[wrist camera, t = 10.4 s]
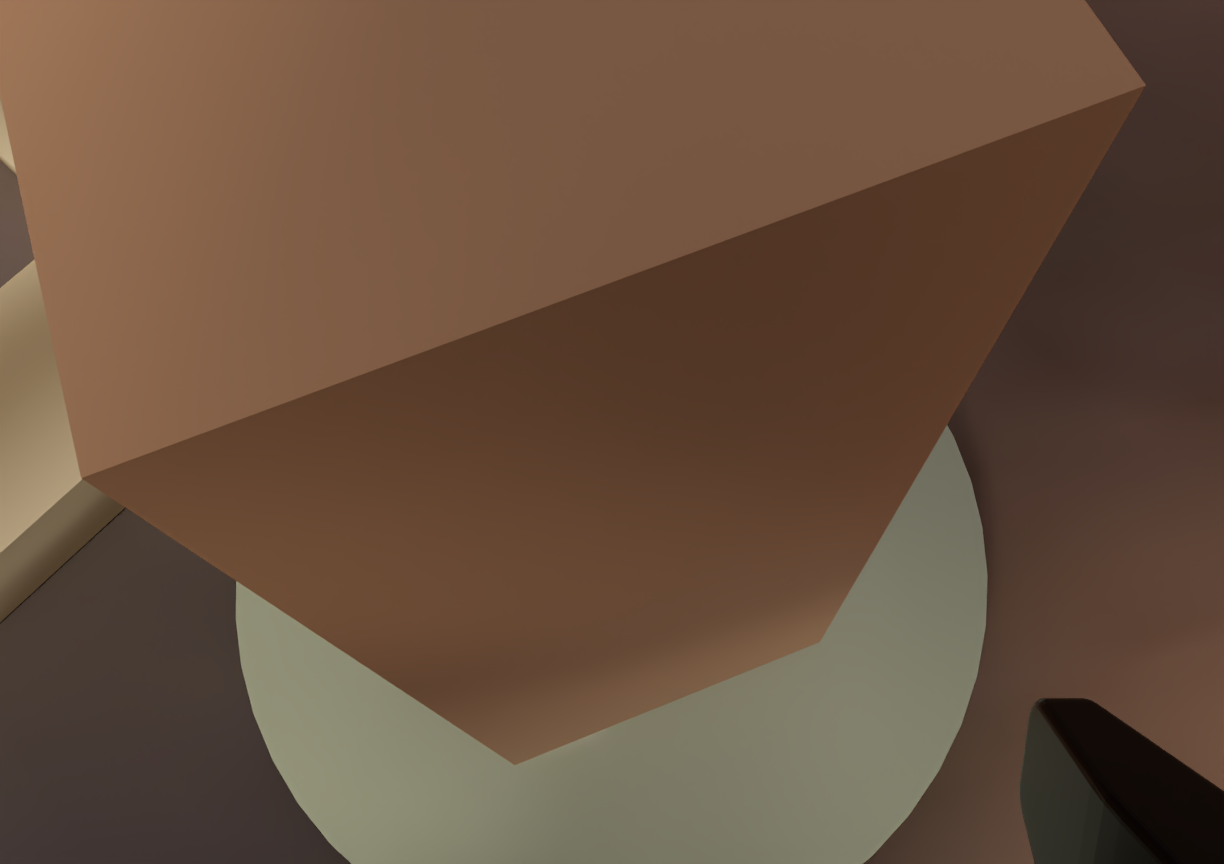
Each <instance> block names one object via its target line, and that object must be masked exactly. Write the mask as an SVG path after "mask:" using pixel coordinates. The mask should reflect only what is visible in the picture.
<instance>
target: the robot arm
mask: <svg viewBox="0 0 1224 864" xmlns="http://www.w3.org/2000/svg"><path fill="white" fill-rule="evenodd" d="M1020 800H1021V808H1022V814H1023V818H1024V822H1025V826H1026V830H1027V834H1028V838H1029V842H1030V846H1031V850H1032V854H1033V858H1034V862H1035V864H1224V791H1223V790H1221V789H1220V788H1219V787H1217V786H1216V785H1214V784H1213V783H1211V782H1210V781H1208V780H1207V779H1205V778H1204V777H1203V776H1201V775H1200V774H1198V773H1197V772H1195V771H1194V770H1192V769H1191V768H1190V767H1188V766H1187V765H1185V764H1184V763H1182V762H1181V761H1179V760H1178V759H1177V758H1175V757H1174V756H1172V755H1171V754H1169V753H1168V752H1166V751H1165V750H1163V749H1162V748H1161V747H1159V746H1158V745H1156V744H1155V743H1153V742H1152V741H1150V740H1149V739H1148V738H1146V737H1145V736H1143V735H1142V734H1140V733H1139V732H1137V731H1136V730H1135V729H1133V728H1132V727H1130V726H1129V725H1127V724H1126V723H1124V722H1123V721H1121V720H1120V719H1119V718H1117V717H1116V716H1114V715H1113V714H1111V713H1110V712H1108V711H1107V710H1106V709H1104V708H1103V707H1101V706H1100V705H1098V704H1097V703H1095V702H1093V701H1091V700H1089V699H1084V698H1043V699H1039V700H1038V701H1037V702H1035V703H1034V705H1033V707H1032V709H1031V711H1030V715H1029V722H1028V729H1027V736H1026V744H1025V751H1024V758H1023V766H1022V773H1021V781H1020Z"/></svg>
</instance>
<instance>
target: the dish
mask: <svg viewBox="0 0 1224 864" xmlns="http://www.w3.org/2000/svg"><path fill="white" fill-rule="evenodd" d="M987 577H988V575H987V566H986V556H985V547H984V537H983V528H982V524H981V519H980V515H979V511H978V507H977V503H976V499H975V495H974V491H973V487H972V483H971V479H970V477H969V474H968V472H967V469H966V467H965V464H964V462H963V459H962V456H961V454H960V451H959V449H958V446H957V444H956V441H955V439H954V436H953V435H952V433H951V431H950V429H949V427H948V426H946V428H945V429H944V431H943V433H942V434H941V436H940V438H939V440H938V441H937V443H936V445H935V446H934V448H933V450H932V452H931V453H930V455H929V457H928V458H927V460H926V462H925V464H924V465H923V467H922V469H921V470H920V472H919V474H918V475H917V477H916V479H915V481H914V482H913V484H912V486H911V487H910V489H909V491H908V493H907V494H906V496H905V498H904V499H903V501H902V503H901V505H900V506H899V508H898V510H897V511H896V513H895V515H894V516H893V518H892V520H891V522H890V523H889V525H888V527H887V528H886V530H885V532H884V534H883V535H882V537H881V539H880V540H879V542H878V544H877V545H876V547H875V549H874V551H873V552H872V554H871V556H870V557H869V559H868V561H867V563H866V564H865V566H864V568H863V569H862V571H861V573H860V575H859V576H858V578H857V580H856V581H855V583H854V585H853V586H852V588H851V590H850V592H849V593H848V595H847V597H846V598H845V600H844V602H843V604H842V605H841V607H840V609H839V610H838V612H837V614H836V615H835V617H834V619H833V621H832V622H831V624H830V626H829V627H828V629H827V631H826V633H825V634H824V636H823V638H822V639H821V641H820V642H819V643H816V644H814V645H811V646H809V647H806V648H804V649H801V650H799V651H796V652H794V653H791V654H789V655H786V656H784V657H781V658H779V659H777V660H774V661H772V662H769V663H767V664H764V665H762V666H759V667H757V668H754V669H752V670H749V671H747V672H744V673H742V674H739V675H737V676H734V677H732V678H730V679H727V680H725V681H722V682H720V683H717V684H715V685H712V686H710V687H707V688H705V689H702V690H700V691H697V692H695V693H692V694H690V695H687V696H685V697H683V698H680V699H678V700H675V701H673V702H670V703H668V704H665V705H663V706H660V707H658V708H655V709H653V710H650V711H648V712H645V713H643V714H640V715H638V716H635V717H633V718H631V719H628V720H626V721H623V722H621V723H618V724H616V725H613V726H611V727H608V728H606V729H603V730H601V731H598V732H596V733H593V734H591V735H588V736H586V737H584V738H581V739H579V740H576V741H574V742H571V743H569V744H566V745H564V746H561V747H559V748H556V749H554V750H551V751H549V752H546V753H544V754H541V755H539V756H537V757H534V758H532V759H529V760H527V761H524V762H522V763H519V764H517V765H514V764H512V763H511V762H509V761H508V760H506V759H505V758H503V757H502V756H500V755H498V754H497V753H495V752H494V751H492V750H491V749H489V748H488V747H486V746H485V745H483V744H482V743H480V742H479V741H477V740H476V739H474V738H473V737H471V736H470V735H468V734H467V733H465V732H464V731H462V730H461V729H459V728H458V727H456V726H455V725H453V724H452V723H450V722H449V721H447V720H446V719H444V718H443V717H441V716H440V715H438V714H437V713H435V712H434V711H432V710H430V709H429V708H427V707H426V706H424V705H423V704H421V703H420V702H418V701H417V700H415V699H414V698H412V697H411V696H409V695H408V694H406V693H405V692H403V691H402V690H400V689H399V688H397V687H396V686H394V685H393V684H391V683H390V682H388V681H387V680H385V679H384V678H382V677H381V676H379V675H378V674H376V673H375V672H373V671H372V670H370V669H369V668H367V667H366V666H364V665H363V664H361V663H359V662H358V661H356V660H355V659H353V658H352V657H350V656H349V655H347V654H346V653H344V652H343V651H341V650H340V649H338V648H337V647H335V646H334V645H332V644H331V643H329V642H328V641H326V640H325V639H323V638H322V637H320V636H319V635H317V634H316V633H314V632H313V631H311V630H310V629H308V628H307V627H305V626H304V625H302V624H301V623H299V622H298V621H296V620H295V619H293V618H292V617H290V616H288V615H287V614H285V613H284V612H282V611H281V610H279V609H278V608H276V607H275V606H273V605H272V604H270V603H269V602H267V601H266V600H264V599H263V598H261V597H260V596H258V595H257V594H255V593H254V592H252V591H251V590H249V589H248V588H246V587H245V586H243V585H242V584H240V583H239V582H237V581H236V625H237V634H238V643H239V651H240V660H241V667H242V671H243V675H244V679H245V683H246V687H247V691H248V695H249V698H250V702H251V706H252V710H253V714H254V716H255V719H256V721H257V724H258V726H259V729H260V731H261V733H262V736H263V738H264V741H265V743H266V746H267V748H268V750H269V753H270V755H271V758H272V760H273V762H274V763H275V765H276V767H277V769H278V770H279V772H280V774H281V775H282V777H283V779H284V781H285V782H286V784H287V786H288V787H289V789H290V791H291V792H292V794H293V796H294V798H295V799H296V801H297V803H298V804H299V805H300V807H301V808H302V809H303V810H304V812H305V813H306V814H307V815H308V817H309V818H310V819H311V820H312V822H313V823H314V824H315V825H316V827H317V828H318V829H319V830H320V832H321V833H322V834H323V835H324V837H325V838H326V839H327V841H328V842H329V843H330V844H331V845H332V846H333V847H334V848H335V849H336V850H337V851H338V852H339V853H340V854H342V855H343V856H344V857H345V858H346V859H347V860H348V861H349V862H350V863H351V864H863V863H864V862H866V861H867V860H868V859H869V858H870V857H872V856H873V855H874V854H875V853H876V851H877V850H878V849H879V848H880V847H881V846H882V845H883V844H884V843H885V841H886V840H887V839H888V838H889V837H890V836H891V835H892V834H893V833H894V832H895V830H896V829H897V828H898V827H899V826H900V825H901V824H902V823H903V822H904V820H905V819H906V818H907V817H908V816H909V815H910V813H911V812H912V810H913V809H914V807H915V806H916V804H917V803H918V801H919V800H920V798H921V797H922V795H923V794H924V792H925V791H926V790H927V788H928V787H929V785H930V784H931V782H932V781H933V779H934V778H935V776H936V775H937V773H938V772H939V770H940V768H941V766H942V764H943V762H944V760H945V757H946V755H947V753H948V751H949V749H950V747H951V745H952V743H953V741H954V739H955V737H956V735H957V733H958V731H959V729H960V727H961V724H962V721H963V718H964V715H965V712H966V709H967V706H968V703H969V700H970V697H971V693H972V690H973V687H974V684H975V681H976V678H977V674H978V669H979V663H980V657H981V651H982V645H983V640H984V634H985V628H986V608H987Z"/></svg>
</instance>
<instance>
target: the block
mask: <svg viewBox="0 0 1224 864" xmlns="http://www.w3.org/2000/svg"><path fill="white" fill-rule="evenodd" d="M1145 86H1146V85H1145V83H1144V82H1143V80H1142V79H1141V78H1140V76H1139V75H1138V73H1137V72H1136V71H1135V69H1134V68H1133V66H1132V65H1131V64H1130V62H1129V61H1128V59H1127V58H1126V57H1125V55H1124V54H1123V53H1122V51H1121V50H1120V48H1119V47H1118V46H1117V44H1116V43H1115V41H1114V40H1113V39H1112V37H1111V36H1110V34H1109V33H1108V32H1107V30H1106V29H1105V27H1104V26H1103V25H1102V23H1101V22H1100V20H1099V19H1098V18H1097V16H1096V15H1095V13H1094V12H1093V11H1092V9H1091V8H1090V7H1089V5H1088V4H1087V2H1086V1H1085V0H0V98H1V103H2V108H3V112H4V117H5V122H6V127H7V131H8V136H9V141H10V146H11V150H12V155H13V160H14V164H15V169H16V174H17V179H18V183H19V188H20V193H21V197H22V202H23V207H24V212H25V216H26V221H27V226H28V230H29V235H30V240H31V245H32V249H33V254H34V259H35V263H36V268H37V273H38V278H39V282H40V287H41V292H42V297H43V301H44V306H45V311H46V315H47V320H48V325H49V330H50V334H51V339H52V344H53V348H54V353H55V358H56V363H57V367H58V372H59V377H60V381H61V386H62V391H63V396H64V400H65V405H66V410H67V414H68V419H69V424H70V429H71V433H72V438H73V443H74V448H75V452H76V457H77V462H78V466H79V471H80V476H81V478H82V479H83V480H85V481H86V482H88V483H89V484H91V485H92V486H94V487H95V488H97V489H98V490H100V491H101V492H103V493H104V494H106V495H107V496H109V497H110V498H112V499H113V500H115V501H116V502H118V503H119V504H121V505H122V506H124V507H125V508H127V509H128V510H130V511H131V512H133V513H134V514H136V515H137V516H139V517H140V518H142V519H143V520H145V521H146V522H148V523H149V524H151V525H153V526H154V527H156V528H157V529H159V530H160V531H162V532H163V533H165V534H166V535H168V536H169V537H171V538H172V539H174V540H175V541H177V542H178V543H180V544H181V545H183V546H184V547H186V548H187V549H189V550H190V551H192V552H193V553H195V554H196V555H198V556H199V557H201V558H202V559H204V560H205V561H207V562H208V563H210V564H211V565H213V566H214V567H216V568H217V569H219V570H220V571H222V572H224V573H225V574H227V575H228V576H230V577H231V578H233V579H234V580H236V581H237V582H239V583H240V584H242V585H243V586H245V587H246V588H248V589H249V590H251V591H252V592H254V593H255V594H257V595H258V596H260V597H261V598H263V599H264V600H266V601H267V602H269V603H270V604H272V605H273V606H275V607H276V608H278V609H279V610H281V611H282V612H284V613H285V614H287V615H288V616H290V617H292V618H293V619H295V620H296V621H298V622H299V623H301V624H302V625H304V626H305V627H307V628H308V629H310V630H311V631H313V632H314V633H316V634H317V635H319V636H320V637H322V638H323V639H325V640H326V641H328V642H329V643H331V644H332V645H334V646H335V647H337V648H338V649H340V650H341V651H343V652H344V653H346V654H347V655H349V656H350V657H352V658H353V659H355V660H356V661H358V662H359V663H361V664H363V665H364V666H366V667H367V668H369V669H370V670H372V671H373V672H375V673H376V674H378V675H379V676H381V677H382V678H384V679H385V680H387V681H388V682H390V683H391V684H393V685H394V686H396V687H397V688H399V689H400V690H402V691H403V692H405V693H406V694H408V695H409V696H411V697H412V698H414V699H415V700H417V701H418V702H420V703H421V704H423V705H424V706H426V707H427V708H429V709H430V710H432V711H434V712H435V713H437V714H438V715H440V716H441V717H443V718H444V719H446V720H447V721H449V722H450V723H452V724H453V725H455V726H456V727H458V728H459V729H461V730H462V731H464V732H465V733H467V734H468V735H470V736H471V737H473V738H474V739H476V740H477V741H479V742H480V743H482V744H483V745H485V746H486V747H488V748H489V749H491V750H492V751H494V752H495V753H497V754H498V755H500V756H502V757H503V758H505V759H506V760H508V761H509V762H511V763H512V764H514V765H517V764H519V763H522V762H524V761H527V760H529V759H532V758H534V757H537V756H539V755H541V754H544V753H546V752H549V751H551V750H554V749H556V748H559V747H561V746H564V745H566V744H569V743H571V742H574V741H576V740H579V739H581V738H584V737H586V736H588V735H591V734H593V733H596V732H598V731H601V730H603V729H606V728H608V727H611V726H613V725H616V724H618V723H621V722H623V721H626V720H628V719H631V718H633V717H635V716H638V715H640V714H643V713H645V712H648V711H650V710H653V709H655V708H658V707H660V706H663V705H665V704H668V703H670V702H673V701H675V700H678V699H680V698H683V697H685V696H687V695H690V694H692V693H695V692H697V691H700V690H702V689H705V688H707V687H710V686H712V685H715V684H717V683H720V682H722V681H725V680H727V679H730V678H732V677H734V676H737V675H739V674H742V673H744V672H747V671H749V670H752V669H754V668H757V667H759V666H762V665H764V664H767V663H769V662H772V661H774V660H777V659H779V658H781V657H784V656H786V655H789V654H791V653H794V652H796V651H799V650H801V649H804V648H806V647H809V646H811V645H814V644H816V643H819V642H820V641H821V639H822V638H823V636H824V634H825V633H826V631H827V629H828V627H829V626H830V624H831V622H832V621H833V619H834V617H835V615H836V614H837V612H838V610H839V609H840V607H841V605H842V604H843V602H844V600H845V598H846V597H847V595H848V593H849V592H850V590H851V588H852V586H853V585H854V583H855V581H856V580H857V578H858V576H859V575H860V573H861V571H862V569H863V568H864V566H865V564H866V563H867V561H868V559H869V557H870V556H871V554H872V552H873V551H874V549H875V547H876V545H877V544H878V542H879V540H880V539H881V537H882V535H883V534H884V532H885V530H886V528H887V527H888V525H889V523H890V522H891V520H892V518H893V516H894V515H895V513H896V511H897V510H898V508H899V506H900V505H901V503H902V501H903V499H904V498H905V496H906V494H907V493H908V491H909V489H910V487H911V486H912V484H913V482H914V481H915V479H916V477H917V475H918V474H919V472H920V470H921V469H922V467H923V465H924V464H925V462H926V460H927V458H928V457H929V455H930V453H931V452H932V450H933V448H934V446H935V445H936V443H937V441H938V440H939V438H940V436H941V434H942V433H943V431H944V429H945V428H946V426H947V424H948V423H949V421H950V419H951V417H952V416H953V414H954V412H955V411H956V409H957V407H958V405H959V404H960V402H961V400H962V399H963V397H964V395H965V394H966V392H967V390H968V388H969V387H970V385H971V383H972V382H973V380H974V378H975V376H976V375H977V373H978V371H979V370H980V368H981V366H982V364H983V363H984V361H985V359H986V358H987V356H988V354H989V353H990V351H991V349H992V347H993V346H994V344H995V342H996V341H997V339H998V337H999V335H1000V334H1001V332H1002V330H1003V329H1004V327H1005V325H1006V323H1007V322H1008V320H1009V318H1010V317H1011V315H1012V313H1013V312H1014V310H1015V308H1016V306H1017V305H1018V303H1019V301H1020V300H1021V298H1022V296H1023V294H1024V293H1025V291H1026V289H1027V288H1028V286H1029V284H1030V283H1031V281H1032V279H1033V277H1034V276H1035V274H1036V272H1037V271H1038V269H1039V267H1040V265H1041V264H1042V262H1043V260H1044V259H1045V257H1046V255H1047V253H1048V252H1049V250H1050V248H1051V247H1052V245H1053V243H1054V242H1055V240H1056V238H1057V236H1058V235H1059V233H1060V231H1061V230H1062V228H1063V226H1064V224H1065V223H1066V221H1067V219H1068V218H1069V216H1070V214H1071V213H1072V211H1073V209H1074V207H1075V206H1076V204H1077V202H1078V201H1079V199H1080V197H1081V195H1082V194H1083V192H1084V190H1085V189H1086V187H1087V185H1088V183H1089V182H1090V180H1091V178H1092V177H1093V175H1094V173H1095V172H1096V170H1097V168H1098V166H1099V165H1100V163H1101V161H1102V160H1103V158H1104V156H1105V154H1106V153H1107V151H1108V149H1109V148H1110V146H1111V144H1112V142H1113V141H1114V139H1115V137H1116V136H1117V134H1118V132H1119V131H1120V129H1121V127H1122V125H1123V124H1124V122H1125V120H1126V119H1127V117H1128V115H1129V113H1130V112H1131V110H1132V108H1133V107H1134V105H1135V103H1136V102H1137V100H1138V98H1139V96H1140V95H1141V93H1142V91H1143V90H1144V88H1145Z"/></svg>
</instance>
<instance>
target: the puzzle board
mask: <svg viewBox="0 0 1224 864" xmlns="http://www.w3.org/2000/svg"><path fill="white" fill-rule="evenodd" d="M0 160H1V161H2V162H3V163H4V164H5V165H6V166H7V167H8V168H9V169H10V170H11V171H13V172H14V173H15V174H16V169H15V164H14V160H13V155H12V150H11V146H10V141H9V136H8V131H7V127H6V122H5V117H4V112H3V108H2V103H1V98H0ZM16 175H17V174H16ZM124 508H125V507H124V506H122V505H121V504H119V503H118V502H116V501H115V500H113V499H112V498H110V497H109V496H107V495H106V494H104V493H103V492H101V491H100V490H98V489H97V488H95V487H94V486H92V485H91V484H89V483H88V482H86V481H85V480H83V479H82V478H81V476H80V471H79V466H78V462H77V457H76V452H75V448H74V443H73V438H72V433H71V429H70V424H69V419H68V414H67V410H66V405H65V400H64V396H63V391H62V386H61V381H60V377H59V372H58V367H57V363H56V358H55V353H54V348H53V344H52V339H51V334H50V330H49V325H48V320H47V315H46V311H45V306H44V301H43V297H42V292H41V287H40V282H39V278H38V273H37V268H36V263H35V260H33V261H32V262H31V263H30V264H29V265H27V266H26V267H25V268H24V269H23V270H21V271H20V272H19V273H18V274H17V275H15V276H14V277H13V278H12V279H11V280H9V281H8V282H7V283H6V284H5V285H3V286H2V287H1V288H0V622H1V621H2V620H3V619H5V618H6V617H7V616H8V615H9V614H10V613H11V612H12V611H13V610H14V609H15V608H16V607H18V606H19V605H20V604H21V603H22V602H23V601H24V600H25V599H26V598H27V597H28V596H29V595H31V594H32V593H33V592H34V591H35V590H36V589H37V588H38V587H39V586H40V585H41V584H43V583H44V582H45V581H46V580H47V579H48V578H49V577H50V576H51V575H52V574H53V573H54V572H56V571H57V570H58V569H59V568H60V567H61V566H62V565H63V564H64V563H65V562H66V561H68V560H69V559H70V558H71V557H72V556H73V555H74V554H75V553H76V552H77V551H78V550H79V549H81V548H82V547H83V546H84V545H85V544H86V543H87V542H88V541H89V540H90V539H91V538H93V537H94V536H95V535H96V534H97V533H98V532H99V531H100V530H101V529H102V528H103V527H104V526H106V525H107V524H108V523H109V522H110V521H111V520H112V519H113V518H114V517H115V516H116V515H118V514H119V513H120V512H121V511H122V510H123V509H124Z"/></svg>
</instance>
